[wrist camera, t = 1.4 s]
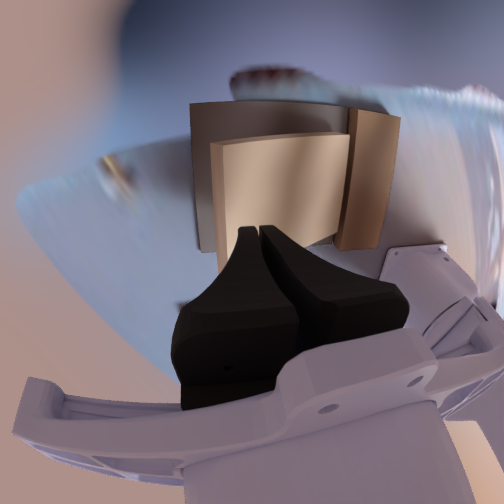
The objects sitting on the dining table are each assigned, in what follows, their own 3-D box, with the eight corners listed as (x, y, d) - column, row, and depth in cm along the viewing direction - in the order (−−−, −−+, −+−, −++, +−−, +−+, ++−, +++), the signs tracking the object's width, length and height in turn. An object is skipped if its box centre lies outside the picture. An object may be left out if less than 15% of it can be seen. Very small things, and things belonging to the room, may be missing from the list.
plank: (336, 131, 18) (349, 134, 17) (326, 226, 22) (337, 232, 22) (210, 142, 13) (222, 145, 12) (218, 272, 17) (229, 282, 16)
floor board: (390, 114, 18) (400, 117, 17) (369, 239, 25) (377, 247, 23) (189, 103, 16) (187, 104, 15) (201, 251, 23) (200, 261, 22)
